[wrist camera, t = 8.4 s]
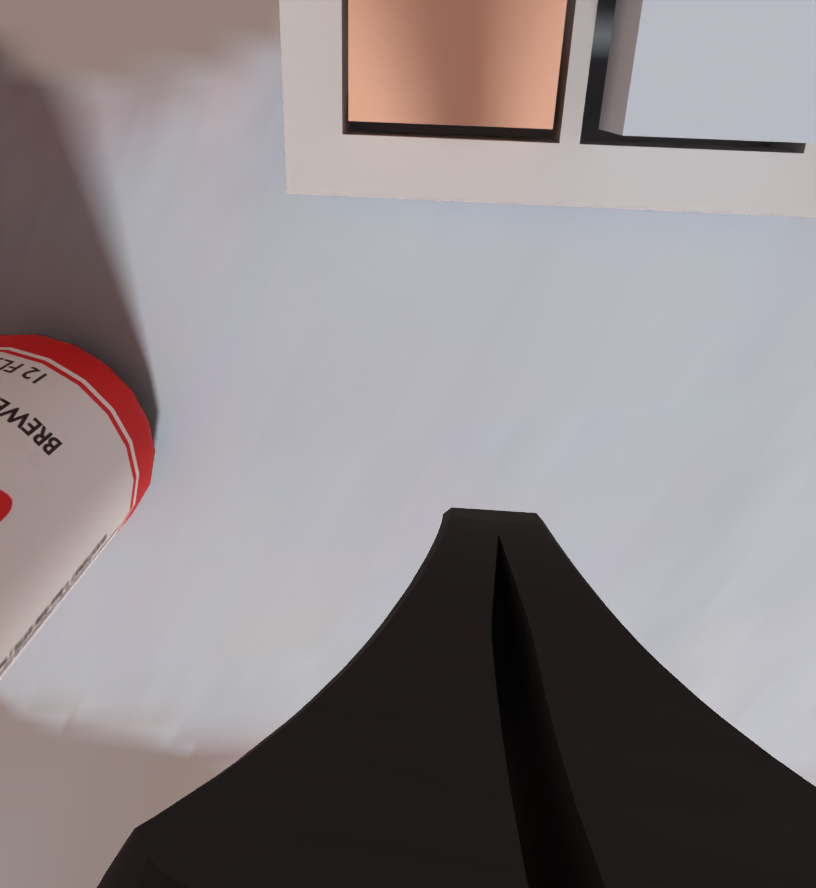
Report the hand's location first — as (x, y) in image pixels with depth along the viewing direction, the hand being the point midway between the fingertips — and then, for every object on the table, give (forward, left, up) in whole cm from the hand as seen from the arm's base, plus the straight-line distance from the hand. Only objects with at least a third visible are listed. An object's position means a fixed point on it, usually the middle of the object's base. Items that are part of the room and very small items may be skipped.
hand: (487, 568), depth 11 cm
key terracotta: (+1, -8, -8) cm, 11 cm away
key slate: (-4, -8, -7) cm, 11 cm away
